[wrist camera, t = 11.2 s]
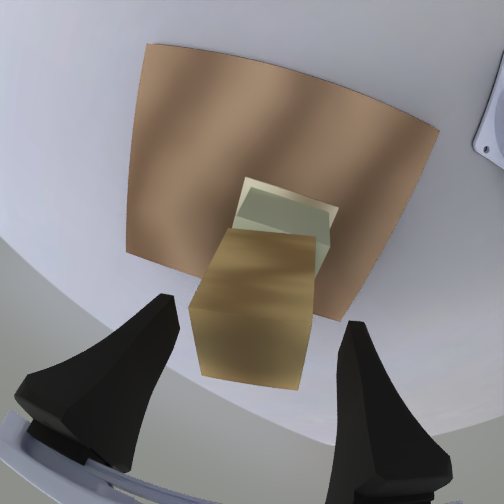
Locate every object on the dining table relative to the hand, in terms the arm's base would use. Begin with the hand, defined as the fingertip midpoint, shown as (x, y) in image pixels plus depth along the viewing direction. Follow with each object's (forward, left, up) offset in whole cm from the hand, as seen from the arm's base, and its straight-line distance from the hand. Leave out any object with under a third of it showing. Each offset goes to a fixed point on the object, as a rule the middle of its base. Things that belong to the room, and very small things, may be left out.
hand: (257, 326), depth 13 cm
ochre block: (0, +1, -5) cm, 5 cm away
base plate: (+2, -1, -10) cm, 11 cm away
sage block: (0, +1, -9) cm, 9 cm away
